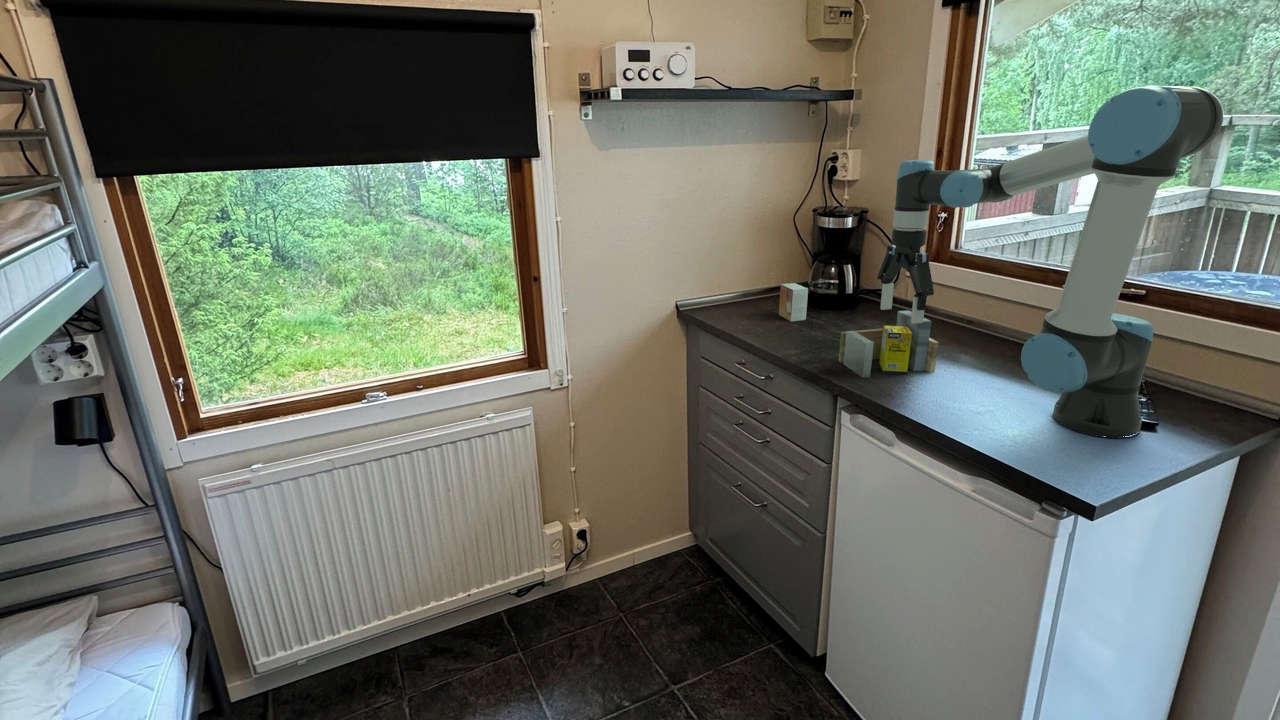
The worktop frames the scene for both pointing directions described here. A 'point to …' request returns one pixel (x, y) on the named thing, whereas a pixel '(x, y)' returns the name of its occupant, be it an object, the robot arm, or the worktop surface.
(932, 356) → the rack
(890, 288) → the robot arm
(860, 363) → the bookend
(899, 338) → the supplement box
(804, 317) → the small box
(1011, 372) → the worktop surface
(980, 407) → the worktop surface
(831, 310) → the worktop surface
